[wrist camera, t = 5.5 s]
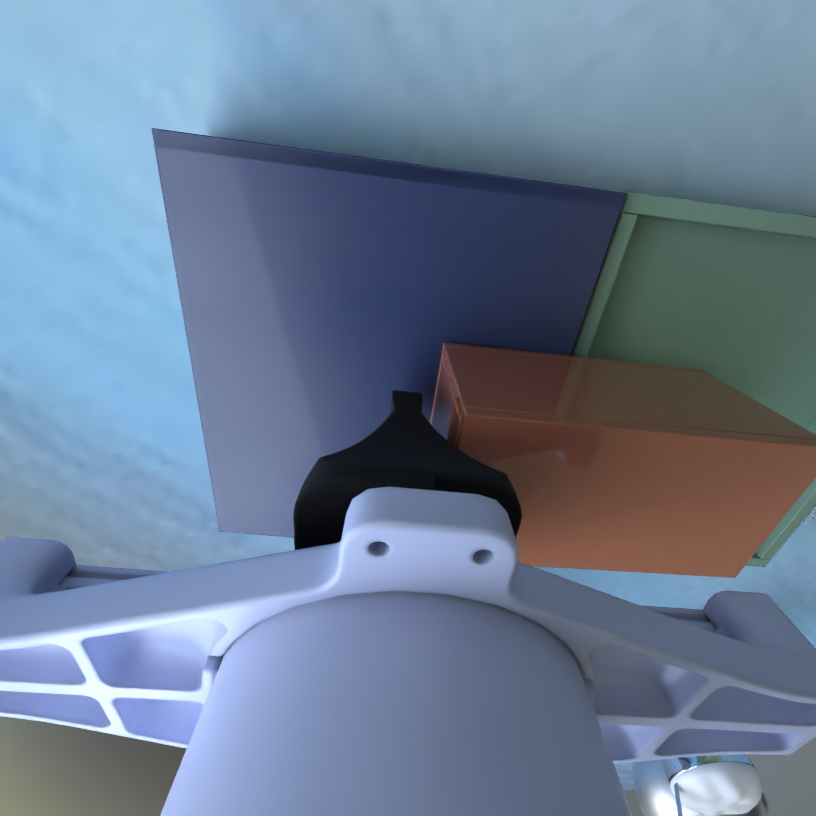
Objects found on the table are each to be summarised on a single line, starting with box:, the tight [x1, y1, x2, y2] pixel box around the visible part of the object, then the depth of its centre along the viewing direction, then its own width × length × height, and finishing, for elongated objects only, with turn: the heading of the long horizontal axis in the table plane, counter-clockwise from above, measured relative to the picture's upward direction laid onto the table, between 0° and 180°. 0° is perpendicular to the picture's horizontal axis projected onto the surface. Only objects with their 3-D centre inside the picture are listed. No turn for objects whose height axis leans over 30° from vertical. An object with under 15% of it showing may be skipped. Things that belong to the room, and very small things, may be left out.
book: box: [152, 128, 626, 538], centre depth 17 cm, size 16×14×3 cm
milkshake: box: [661, 754, 762, 816], centre depth 24 cm, size 5×5×10 cm
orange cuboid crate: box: [429, 343, 816, 578], centre depth 13 cm, size 10×5×5 cm, turn 83°
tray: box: [571, 191, 816, 567], centre depth 18 cm, size 16×14×2 cm
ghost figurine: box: [633, 760, 770, 816], centre depth 31 cm, size 9×10×10 cm
